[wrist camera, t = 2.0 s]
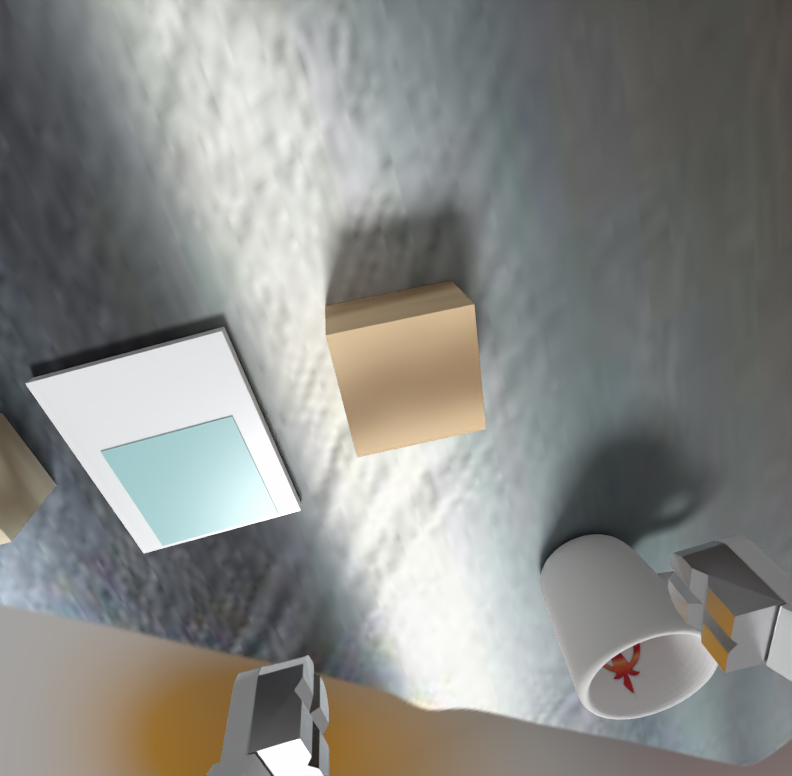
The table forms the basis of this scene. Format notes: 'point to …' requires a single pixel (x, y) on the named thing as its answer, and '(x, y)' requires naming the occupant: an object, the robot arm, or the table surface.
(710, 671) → the cup
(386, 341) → the oak block
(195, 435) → the plate
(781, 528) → the table surface
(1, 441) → the maple block
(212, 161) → the table surface
